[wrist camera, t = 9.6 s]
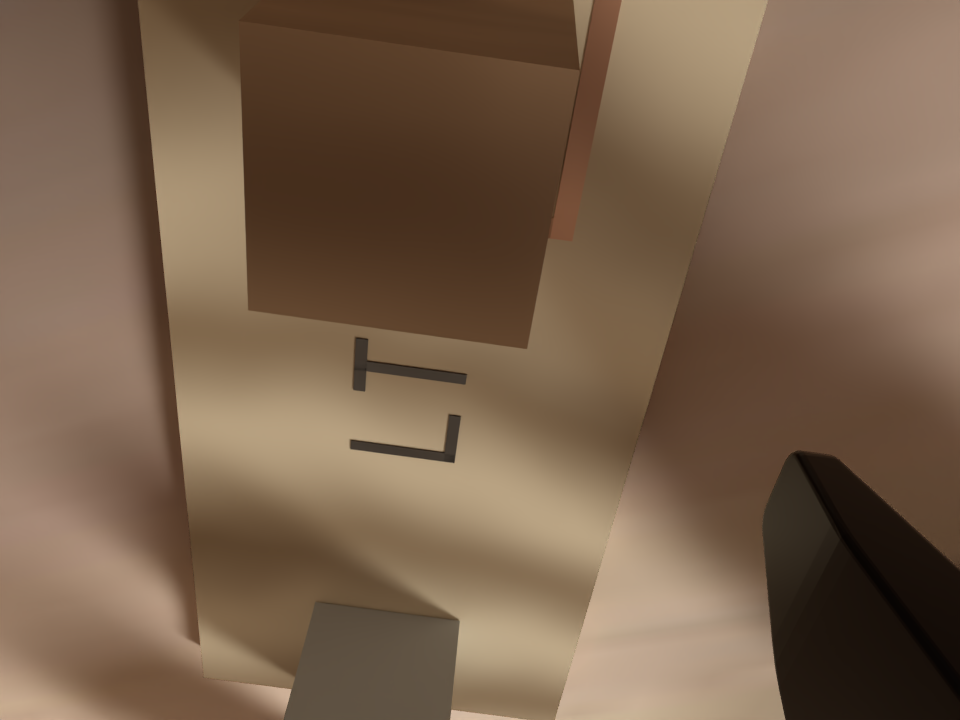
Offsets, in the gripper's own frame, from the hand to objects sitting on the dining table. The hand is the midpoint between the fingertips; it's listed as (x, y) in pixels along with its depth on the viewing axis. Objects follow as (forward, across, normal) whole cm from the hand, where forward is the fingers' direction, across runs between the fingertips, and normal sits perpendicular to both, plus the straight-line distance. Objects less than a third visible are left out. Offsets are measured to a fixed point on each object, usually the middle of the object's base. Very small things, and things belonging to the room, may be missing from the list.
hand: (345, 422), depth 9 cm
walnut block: (+11, 0, 0) cm, 11 cm away
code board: (+12, 0, +8) cm, 14 cm away
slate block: (+11, 0, +19) cm, 22 cm away
